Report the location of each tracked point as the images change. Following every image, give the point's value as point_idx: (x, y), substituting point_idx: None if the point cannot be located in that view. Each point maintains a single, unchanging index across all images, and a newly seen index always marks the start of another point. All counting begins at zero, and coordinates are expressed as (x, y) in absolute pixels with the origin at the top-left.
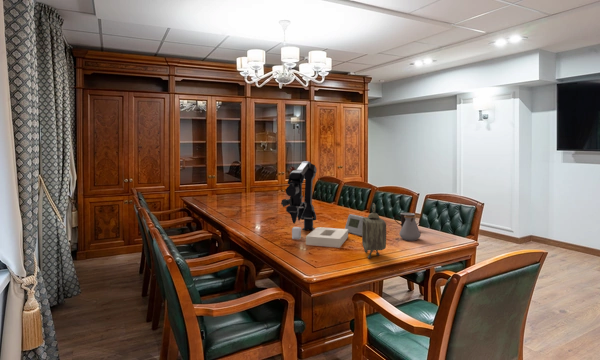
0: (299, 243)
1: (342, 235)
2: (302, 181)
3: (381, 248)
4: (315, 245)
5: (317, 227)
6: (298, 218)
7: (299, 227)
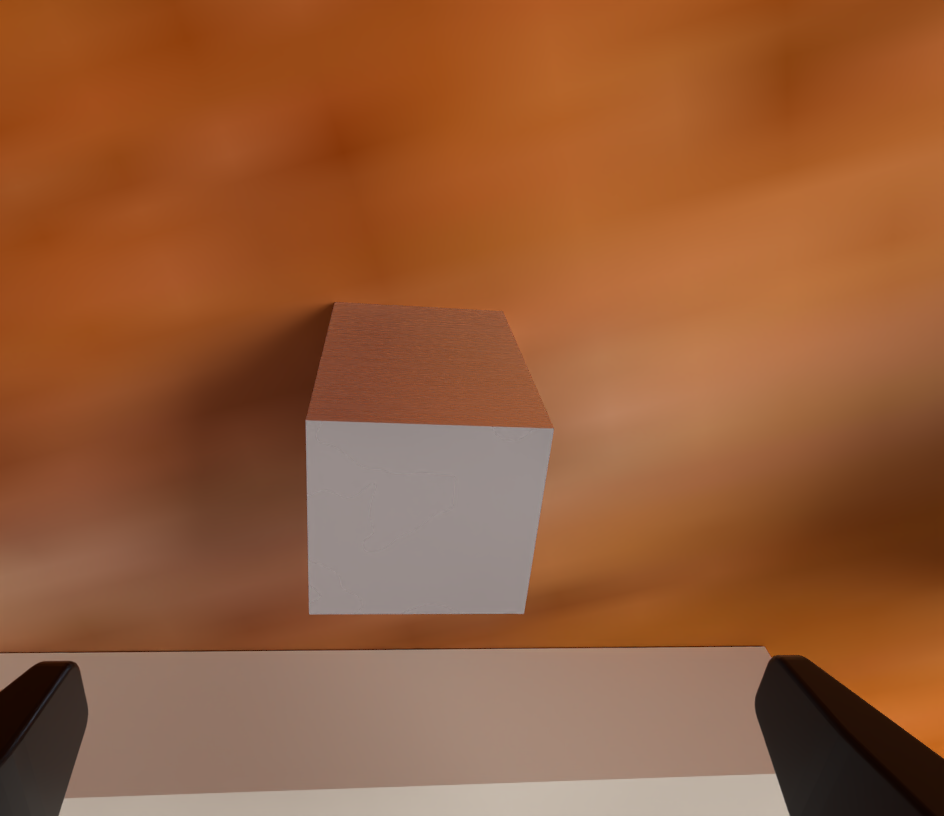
0: (11, 539)
1: None
2: None
3: None
4: None
5: None
6: (807, 725)
7: (488, 585)
